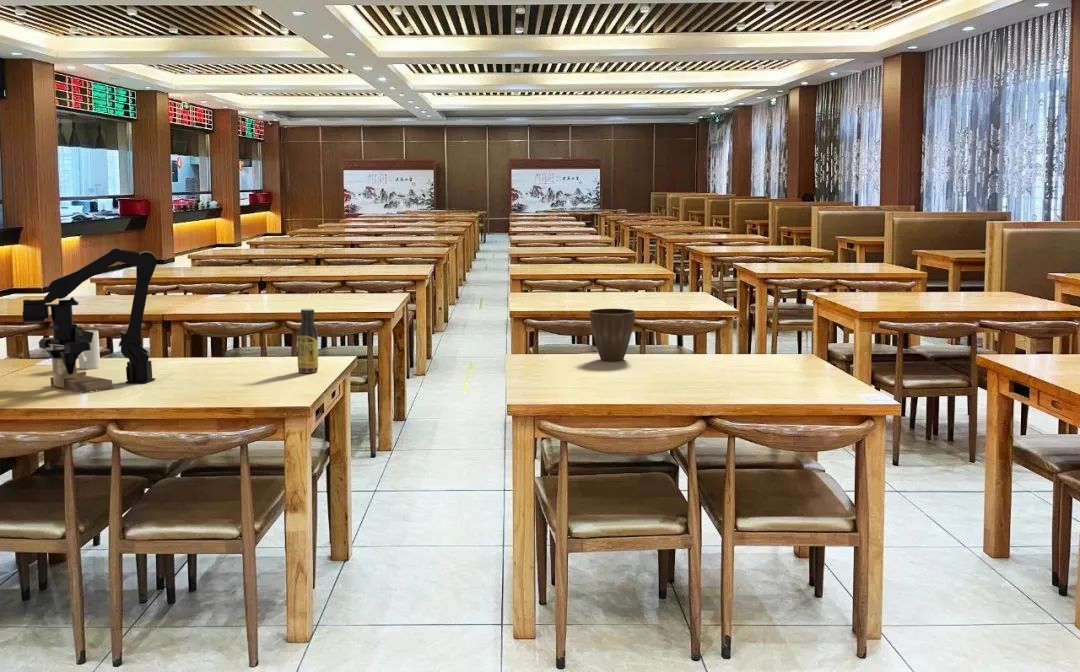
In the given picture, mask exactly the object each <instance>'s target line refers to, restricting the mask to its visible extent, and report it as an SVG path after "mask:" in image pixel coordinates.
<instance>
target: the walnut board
mask: <svg viewBox="0 0 1080 672" xmlns="http://www.w3.org/2000/svg"><path fill="white" fill-rule="evenodd" d="M49 379H50V380H49V381H50V386H51V385H52V386H51V387H55V386H54V379H53V376H51V377H50V378H49ZM56 388H58V387H57V386H56ZM65 388H66V390H70V389H72V390H71V391H75V390H77V391H76V392H80V391H83V392H82V393H85V392H89V393H91V392H90V391H95V392H97V391H96V390H101V391H104V390H103V389H107V390H111V389H110V388H113V380H112V379H107V378H102V377H97V376H91V375H87V374H86V375H83V376H77V377H76V378H70V379H64V387H62V388H61V389H65Z"/></svg>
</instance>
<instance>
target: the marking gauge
mask: <svg viewBox="0 0 1080 672" xmlns="http://www.w3.org/2000/svg"><path fill="white" fill-rule="evenodd" d="M51 364H52V377H53V379H54V386H53V387H55V386H57V387H56V388H60V387H64V379H70V378H76V377H77V376H83V375H86V376H87V371H85V370H84V371H77V370H78V369H77V362H76V363H75V367H74V371H73V374H70V375H69V374H68V372H67V370H66V367H65V364H64V362H63V359H62V357H61V358H54V359H52V358H51Z"/></svg>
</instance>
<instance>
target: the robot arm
mask: <svg viewBox="0 0 1080 672" xmlns="http://www.w3.org/2000/svg"><path fill="white" fill-rule="evenodd" d="M117 262H118V263H123V264H126V265H127V264H128V265H130V266H131V265H132V266H136V267H135V269H136V270H135V271H136V275H135V277H136V283H135V288H134V294H133V298H132V305H131V310H130V316H129V321H128V326H127V327H126V328H127V329H126V331H124V330H121V332H120V341H119V343H118V347H120V352H121V354H122V356H123V357H125V358H127V359H128V361H127V362H126V366H125V374H126V376H125V377H126V380H125V381H124V382H125V384H147V383H150V382H152V381H155V380H156V378H155V377H153V368H152V367H153V366H152V365H153V364H152V360H149V358H150V352H149V351H148V350H146V348H144V347H143V346H142V325H143V319H144V313H145V308H146V303H147V297H148V291H149V285H150V282H151V279H152V277H153V274H154V272H155V269H156V267H157V263H158V261H157V256H156V255H155V254H154V253H153V252H151V251H148V250H144V251H141V252H137V251H131V250H127V249H121V247H113V248H112V249H110V250H109V251H108V252H106V253H105V254H103V255H102V256H100V257H98V258H97V259H94V260H93V261H91V262H90V263H88V264H86V265H84V266H83V267H80V268H79V269H77V270H76V271H75V270H74V271H73V272H70V273H68V274H65V275H62V276H59V277H57V278H55V279H53V280H52V281H51V282H50V284H49V285H48V293H47V294H46V295H44V297H43V298H41V299H23V300H22V319H23V320H22V321H23V323H24V324H32V323H33V324H35V323H46V321H47V319H50V316H51V324H50V325H48V328H49V329H51V330H52V337H45V338H41V339H40V340H39V341H38V348H39V349H43V350H44V349H46V348H48V349H46V353H48V355H49V357H50V358H51V360H52V359H54V358H61V357H62V359H63V362H64V364H65V367H66V370H67V372H68V374H69V375H70V374H73V371H74V367H75V363H76V364H77V359H78V355H79V354H80V353H82V352H83V351H89V350H91V347H90V343H92V339H93V335H94V333H92V332H88V331H85V330H83V328H82V327H80V326H78V324H77V323H74V315H73V306H78V305H79V303H80V302H79V301H78V300H77V299H75V298H74V296H71V297H70V298H69V299H64V298H66V297H68V296H69V295H70V294H71V293H72V292H74V291H75V290H76V289H77V288H78V287H79V286H80V285H81V284H83V283H84V282H86V281H88V280H89V279H91V278H92V277H94V276H96V275H98V274H99V273H101V272H103V271H104V270H106V269H107V268H109V267H110V266H111V267H112V265H114V264H116V263H117ZM57 299H59V300H58V303H52V302H54V301H55V300H57ZM49 308H50V309H49ZM50 312H51V313H50ZM50 314H51V315H50Z"/></svg>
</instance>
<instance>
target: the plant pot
mask: <svg viewBox="0 0 1080 672" xmlns="http://www.w3.org/2000/svg"><path fill="white" fill-rule="evenodd" d="M588 312H589V313H588V314H589V319H590V320H589V321H590V326H591V331H592V336H593V339H594V342H595V347H596V349H597V352H598V356H599V359H600V360H601V361H604V362H620V361H623V360H624V359H625V356H626V353H627V352H628V351H627V350H628V348H629V344H630V340H631V338H632V333H633V329H634V324H635V317H636V310H634V309H629V308H596V309H595V308H594V309H591V310H589V311H588Z"/></svg>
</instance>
